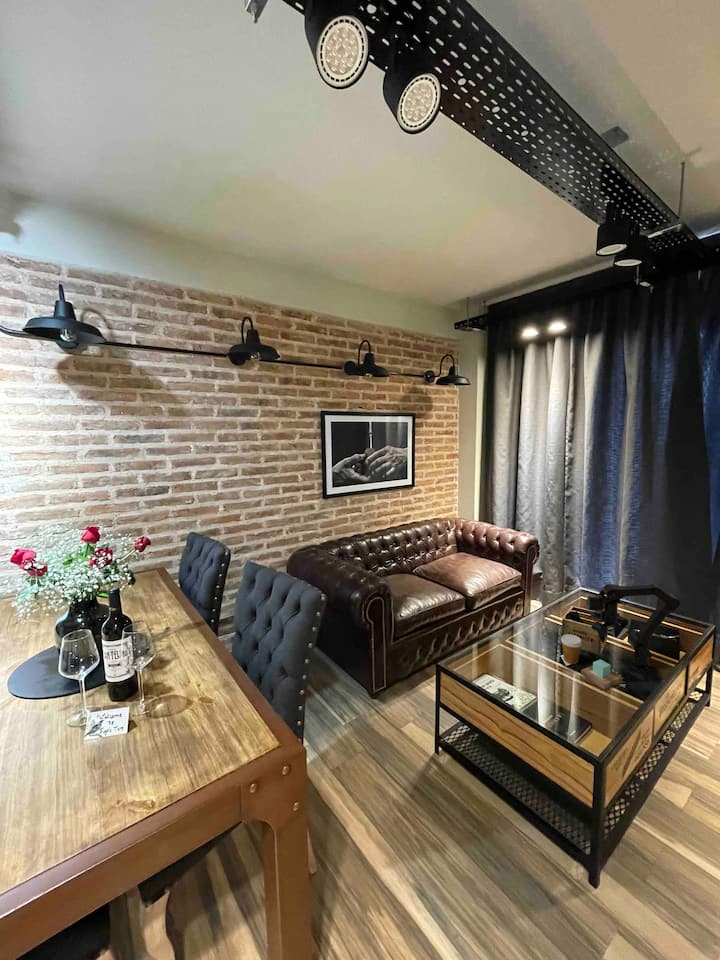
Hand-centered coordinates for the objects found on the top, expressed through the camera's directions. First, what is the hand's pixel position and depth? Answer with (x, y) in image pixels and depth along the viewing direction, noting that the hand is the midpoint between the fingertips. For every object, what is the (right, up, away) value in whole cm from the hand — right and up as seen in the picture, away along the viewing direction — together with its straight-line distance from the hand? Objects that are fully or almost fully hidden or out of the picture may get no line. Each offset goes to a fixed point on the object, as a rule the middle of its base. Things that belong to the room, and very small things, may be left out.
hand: (609, 639), depth 199 cm
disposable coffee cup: (-16, -13, +5) cm, 21 cm away
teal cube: (-10, -12, -10) cm, 18 cm away
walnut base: (-10, -14, -9) cm, 20 cm away
